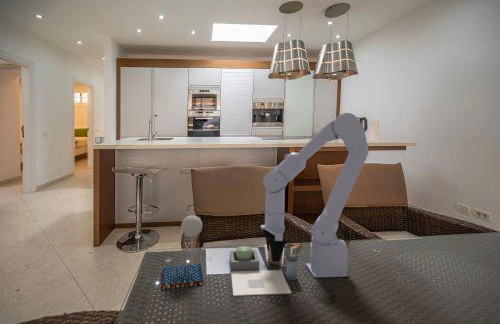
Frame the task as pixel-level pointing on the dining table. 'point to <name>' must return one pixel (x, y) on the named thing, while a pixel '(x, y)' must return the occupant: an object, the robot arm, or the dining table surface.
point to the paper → (259, 283)
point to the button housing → (244, 262)
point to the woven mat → (182, 276)
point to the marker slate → (291, 266)
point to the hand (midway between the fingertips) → (273, 255)
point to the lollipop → (191, 229)
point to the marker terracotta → (271, 257)
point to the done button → (244, 253)
